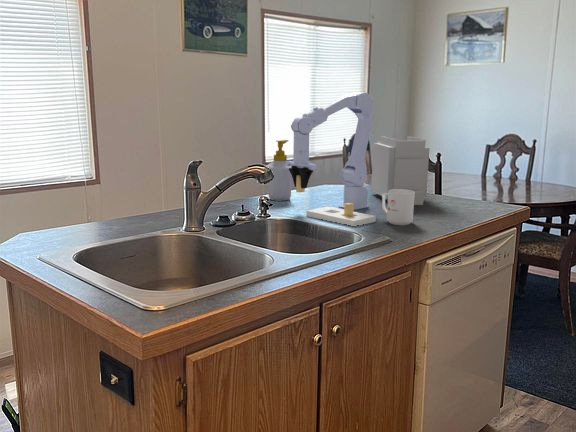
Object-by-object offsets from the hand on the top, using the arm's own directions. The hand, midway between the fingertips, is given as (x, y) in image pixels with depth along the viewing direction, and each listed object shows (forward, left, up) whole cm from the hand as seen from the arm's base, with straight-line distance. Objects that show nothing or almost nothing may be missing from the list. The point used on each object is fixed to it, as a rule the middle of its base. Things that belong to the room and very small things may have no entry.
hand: (300, 187), depth 205 cm
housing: (-3, +17, -9) cm, 20 cm away
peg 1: (0, 0, -2) cm, 2 cm away
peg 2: (-3, +21, -9) cm, 23 cm away
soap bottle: (-12, -24, -10) cm, 28 cm away
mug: (-14, +33, -10) cm, 37 cm away
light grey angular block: (-53, +7, -10) cm, 54 cm away
